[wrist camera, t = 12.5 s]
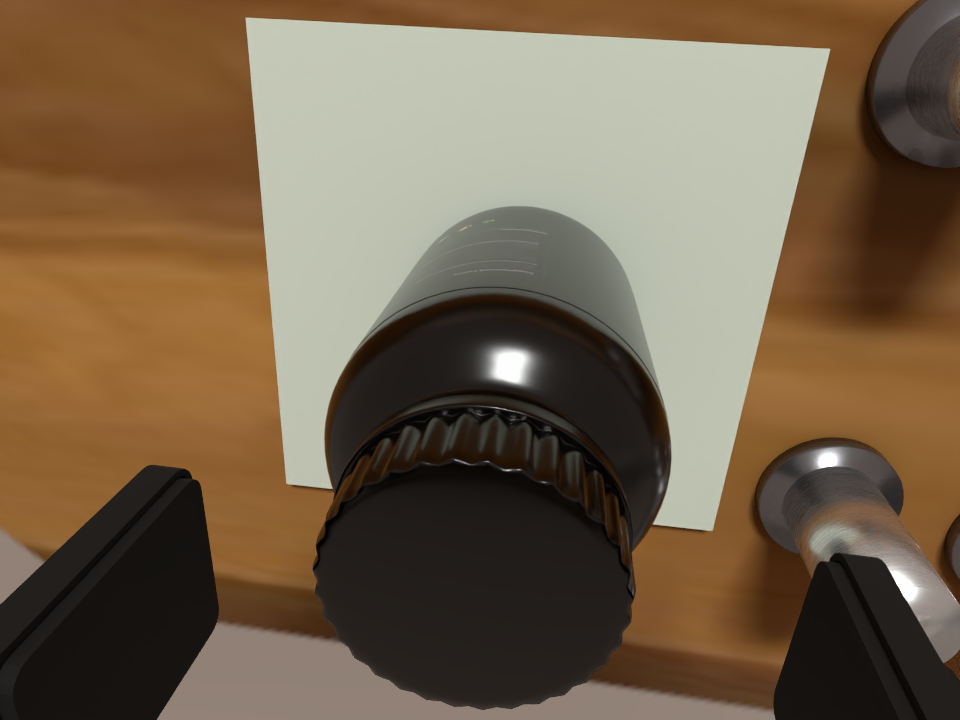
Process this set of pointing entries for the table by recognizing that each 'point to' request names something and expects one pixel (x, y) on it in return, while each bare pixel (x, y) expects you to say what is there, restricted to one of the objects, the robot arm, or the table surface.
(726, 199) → the sage pad
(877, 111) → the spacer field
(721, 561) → the table surface
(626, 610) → the supplement bottle
